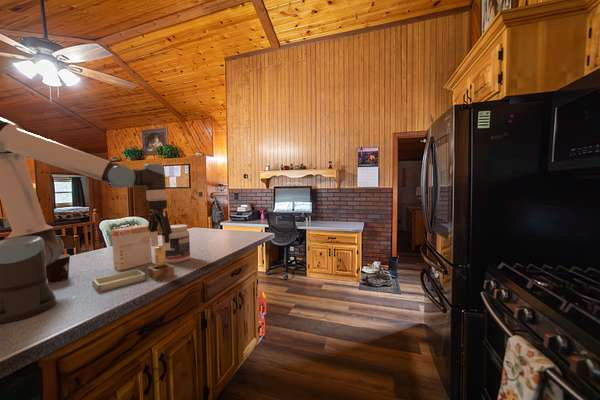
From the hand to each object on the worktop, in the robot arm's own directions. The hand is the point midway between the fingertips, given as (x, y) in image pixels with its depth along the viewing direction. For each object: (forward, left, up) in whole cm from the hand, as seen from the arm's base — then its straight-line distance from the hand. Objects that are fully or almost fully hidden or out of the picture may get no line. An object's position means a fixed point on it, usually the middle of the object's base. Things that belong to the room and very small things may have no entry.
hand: (160, 248), depth 110 cm
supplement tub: (+15, +19, -13) cm, 27 cm away
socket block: (0, 0, -12) cm, 12 cm away
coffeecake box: (-3, +28, -13) cm, 31 cm away
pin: (0, 0, -12) cm, 12 cm away
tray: (-14, +6, -12) cm, 20 cm away
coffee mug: (-29, +32, -13) cm, 45 cm away
